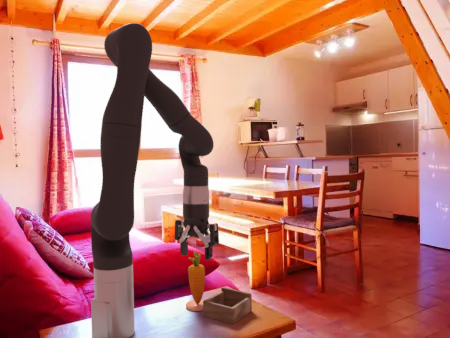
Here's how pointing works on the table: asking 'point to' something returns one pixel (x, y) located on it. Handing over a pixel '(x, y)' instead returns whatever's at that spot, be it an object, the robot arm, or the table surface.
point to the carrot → (196, 278)
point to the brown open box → (228, 305)
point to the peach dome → (194, 306)
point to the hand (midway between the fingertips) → (196, 257)
